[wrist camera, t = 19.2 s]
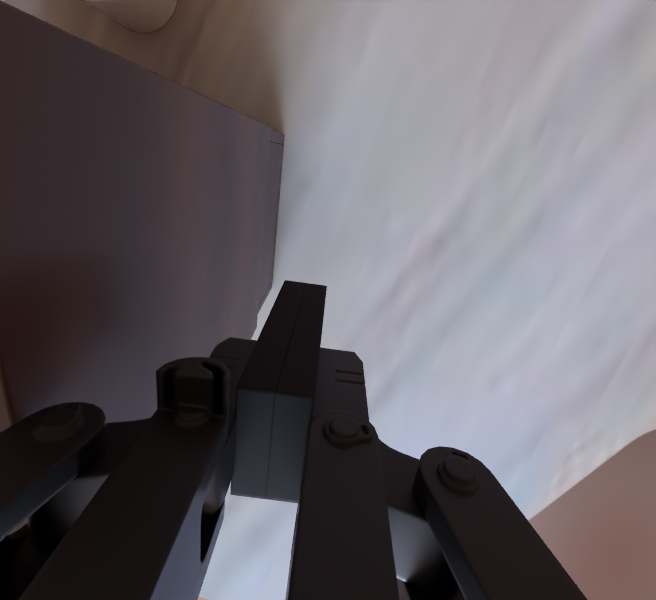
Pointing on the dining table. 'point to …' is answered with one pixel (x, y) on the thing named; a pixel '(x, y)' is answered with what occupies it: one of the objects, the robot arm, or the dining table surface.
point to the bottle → (136, 12)
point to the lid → (116, 224)
